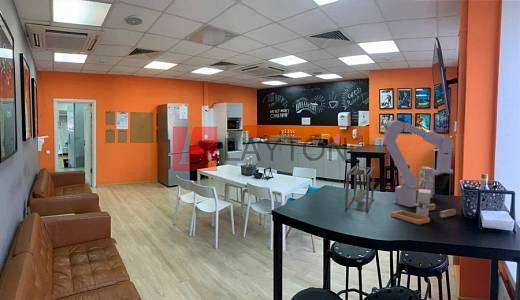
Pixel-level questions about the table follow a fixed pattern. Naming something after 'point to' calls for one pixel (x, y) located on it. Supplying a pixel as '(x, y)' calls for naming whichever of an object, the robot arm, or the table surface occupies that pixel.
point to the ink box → (423, 202)
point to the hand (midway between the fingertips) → (441, 188)
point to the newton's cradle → (361, 192)
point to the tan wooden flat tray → (410, 217)
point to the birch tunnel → (443, 213)
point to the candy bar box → (426, 179)
